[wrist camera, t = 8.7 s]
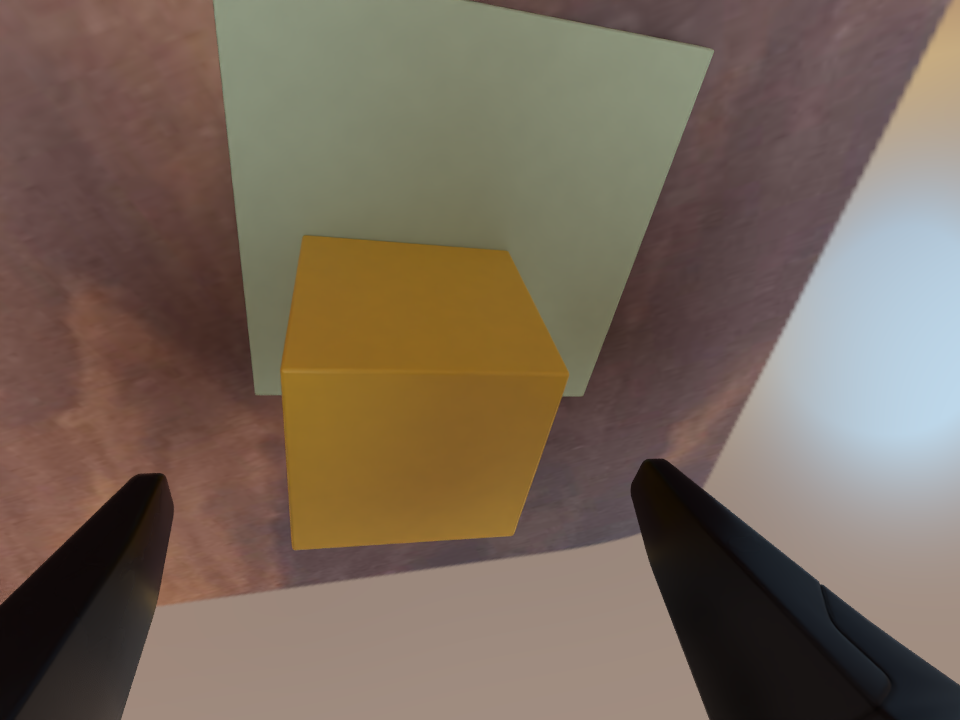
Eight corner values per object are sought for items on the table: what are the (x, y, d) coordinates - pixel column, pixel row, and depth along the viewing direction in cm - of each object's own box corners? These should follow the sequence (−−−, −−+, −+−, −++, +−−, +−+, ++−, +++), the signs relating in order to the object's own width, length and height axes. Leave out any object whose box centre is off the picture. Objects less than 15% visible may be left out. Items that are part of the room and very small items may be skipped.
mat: (706, 46, 12) (715, 50, 11) (579, 389, 18) (583, 396, 17) (211, -51, 9) (207, -51, 9) (256, 386, 15) (254, 395, 15)
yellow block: (509, 249, 13) (571, 373, 10) (476, 396, 16) (514, 537, 13) (302, 233, 12) (279, 369, 8) (306, 396, 15) (291, 552, 11)
